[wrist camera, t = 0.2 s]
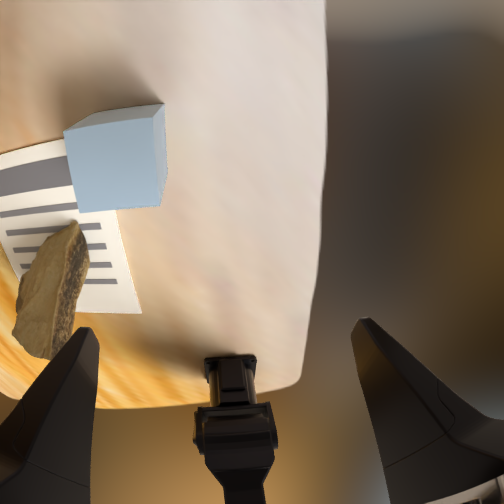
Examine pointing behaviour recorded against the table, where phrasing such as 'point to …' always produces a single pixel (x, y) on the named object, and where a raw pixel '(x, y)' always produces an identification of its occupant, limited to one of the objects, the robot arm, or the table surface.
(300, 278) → the table surface
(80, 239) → the rock
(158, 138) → the cube
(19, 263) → the letter
